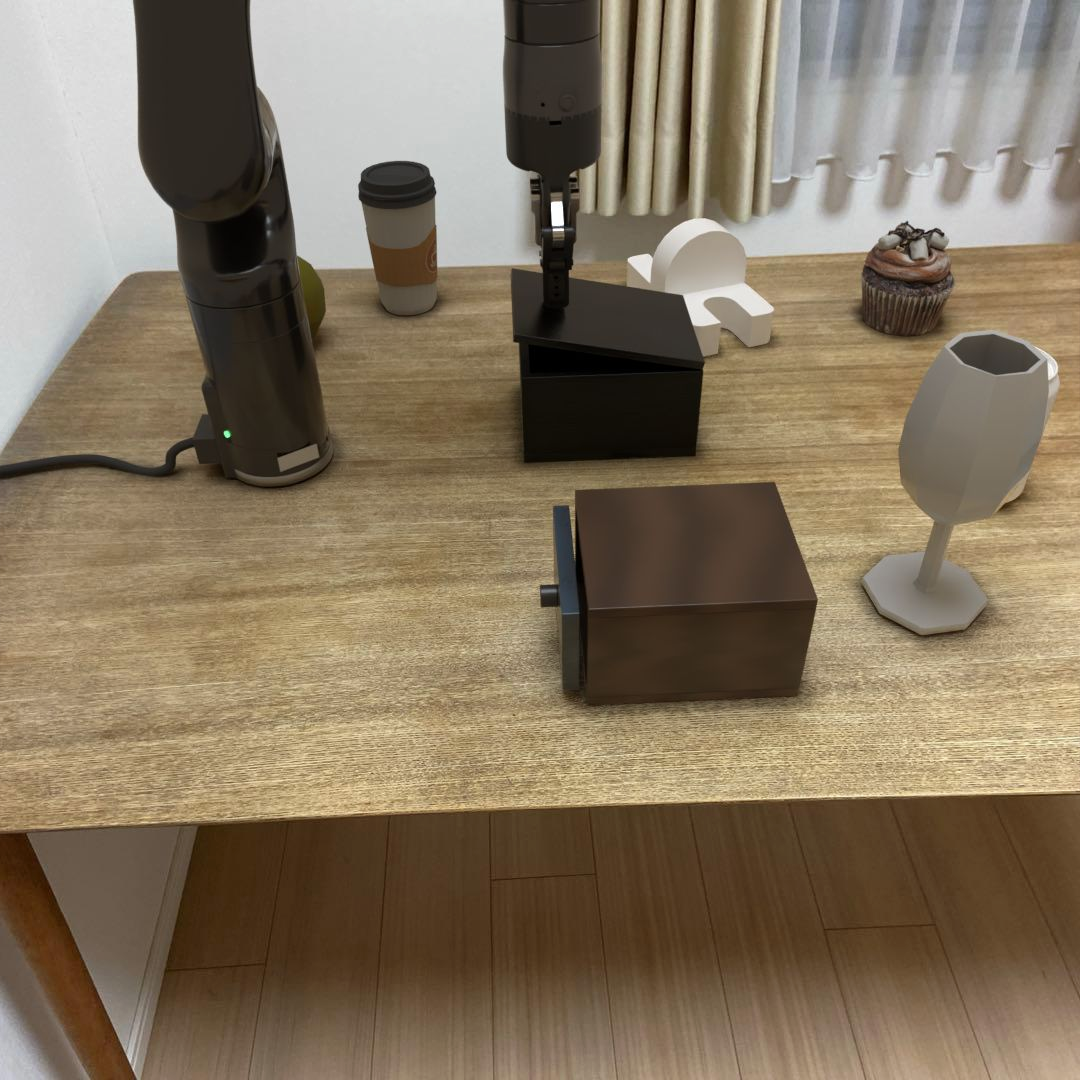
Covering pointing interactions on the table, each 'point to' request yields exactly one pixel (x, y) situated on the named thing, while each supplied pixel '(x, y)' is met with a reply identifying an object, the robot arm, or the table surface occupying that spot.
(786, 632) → the drawer cabinet
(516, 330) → the lid
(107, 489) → the table surface
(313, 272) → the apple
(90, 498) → the table surface
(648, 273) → the white slotted bracket
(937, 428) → the wineglass
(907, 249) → the cupcake
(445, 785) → the table surface
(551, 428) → the metal box
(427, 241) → the coffee cup
